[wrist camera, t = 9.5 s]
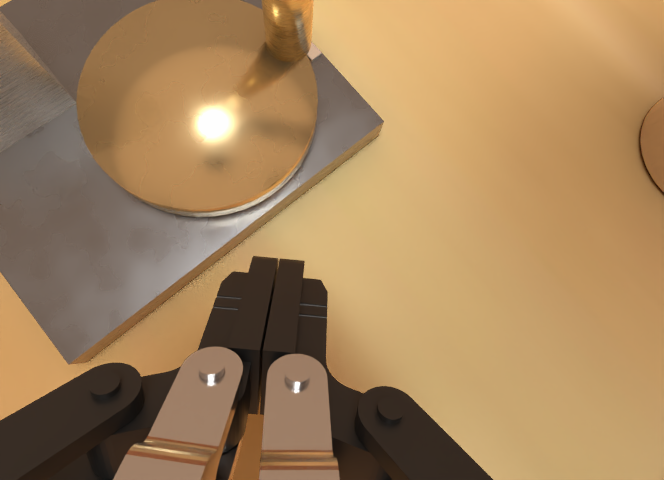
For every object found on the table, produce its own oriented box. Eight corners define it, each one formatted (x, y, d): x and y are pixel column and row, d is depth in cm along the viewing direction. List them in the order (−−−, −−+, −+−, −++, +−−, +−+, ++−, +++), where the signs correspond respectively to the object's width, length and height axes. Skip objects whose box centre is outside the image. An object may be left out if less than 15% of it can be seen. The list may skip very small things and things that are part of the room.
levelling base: (191, -72, 31) (143, -258, 21) (377, 135, 29) (419, 34, 19) (-106, 103, 27) (-337, -29, 17) (86, 362, 25) (-52, 381, 15)
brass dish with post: (121, -4, 27) (27, -185, 17) (330, 33, 27) (348, -122, 18) (63, 196, 24) (-87, 109, 15) (298, 233, 25) (299, 172, 15)
